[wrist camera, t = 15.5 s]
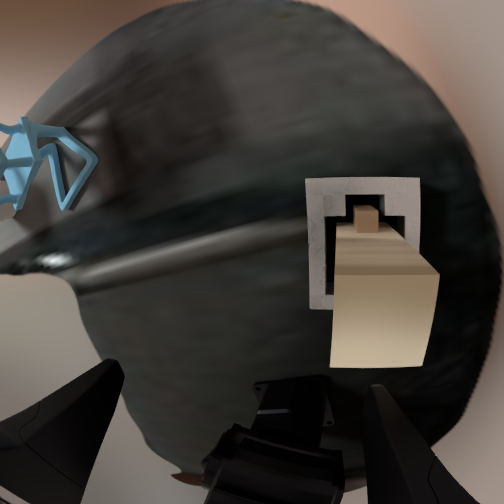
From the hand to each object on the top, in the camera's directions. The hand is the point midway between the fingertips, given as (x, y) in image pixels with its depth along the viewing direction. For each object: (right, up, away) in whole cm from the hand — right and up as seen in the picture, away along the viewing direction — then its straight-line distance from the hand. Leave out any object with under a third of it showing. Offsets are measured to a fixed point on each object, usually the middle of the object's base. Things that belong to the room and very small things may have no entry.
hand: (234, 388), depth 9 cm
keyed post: (+8, +5, +10) cm, 14 cm away
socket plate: (+8, +5, +10) cm, 14 cm away
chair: (-19, +15, +16) cm, 29 cm away
